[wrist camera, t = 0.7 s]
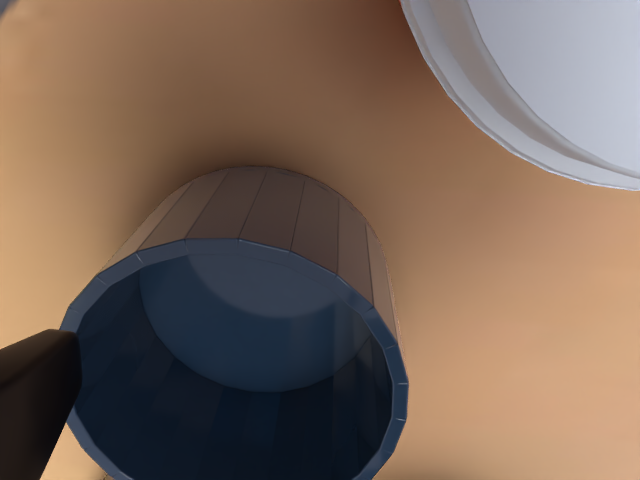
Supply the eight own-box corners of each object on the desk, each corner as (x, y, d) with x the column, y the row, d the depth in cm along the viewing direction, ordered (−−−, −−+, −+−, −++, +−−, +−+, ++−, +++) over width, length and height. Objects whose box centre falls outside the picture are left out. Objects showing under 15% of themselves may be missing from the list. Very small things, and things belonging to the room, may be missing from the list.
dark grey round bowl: (386, 392, 25) (401, 527, 19) (154, 390, 25) (91, 521, 19) (393, 163, 21) (417, 237, 14) (112, 167, 21) (11, 240, 15)
